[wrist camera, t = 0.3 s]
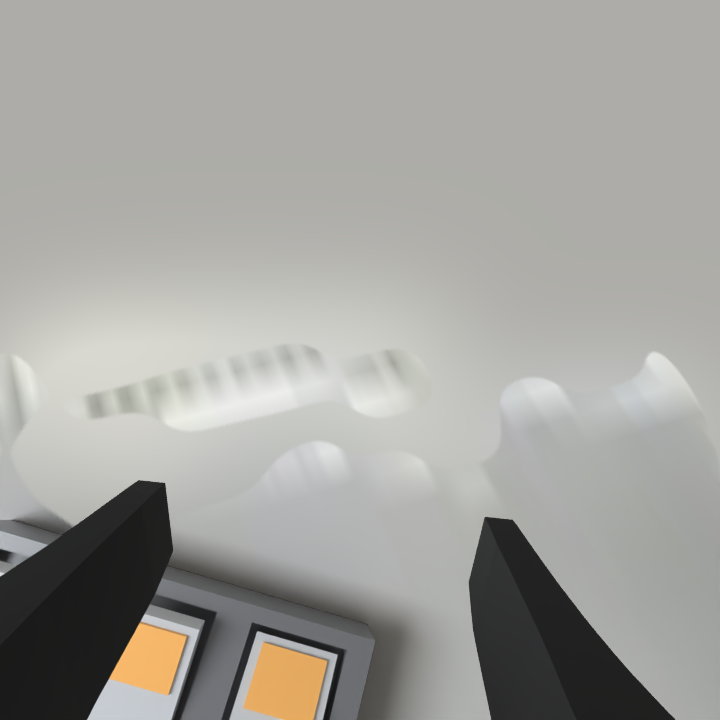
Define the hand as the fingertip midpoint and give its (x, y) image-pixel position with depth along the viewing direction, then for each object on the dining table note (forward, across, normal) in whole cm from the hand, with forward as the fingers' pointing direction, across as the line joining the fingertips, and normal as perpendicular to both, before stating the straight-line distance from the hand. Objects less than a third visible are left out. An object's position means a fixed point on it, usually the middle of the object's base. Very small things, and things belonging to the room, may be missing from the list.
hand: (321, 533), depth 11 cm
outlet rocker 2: (+9, +3, +26) cm, 27 cm away
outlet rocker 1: (+10, +12, +24) cm, 28 cm away
